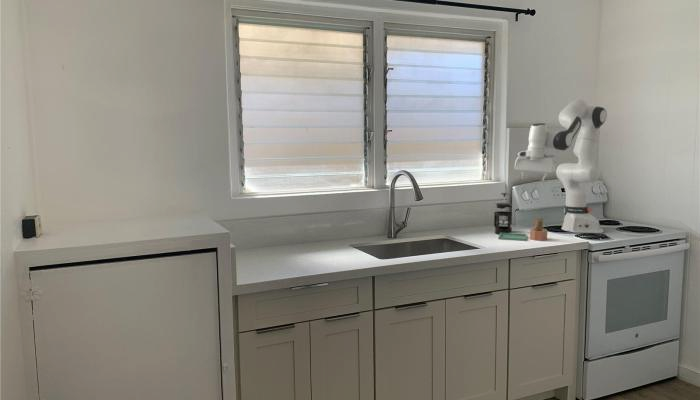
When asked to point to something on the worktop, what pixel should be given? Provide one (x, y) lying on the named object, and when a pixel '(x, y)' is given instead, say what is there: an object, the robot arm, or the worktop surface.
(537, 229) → the dowel
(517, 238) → the tray
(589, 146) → the robot arm
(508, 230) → the french press
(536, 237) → the cup
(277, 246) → the worktop surface
